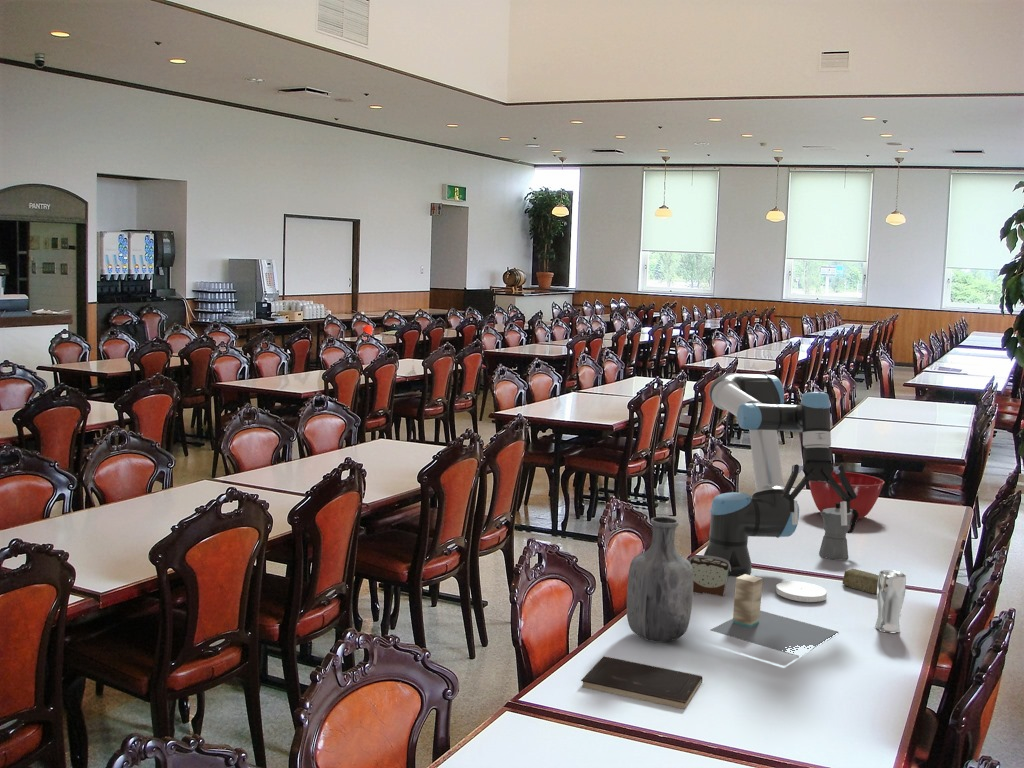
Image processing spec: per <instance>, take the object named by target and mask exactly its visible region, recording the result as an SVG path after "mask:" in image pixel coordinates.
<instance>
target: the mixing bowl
mask: <svg viewBox="0 0 1024 768" xmlns="http://www.w3.org/2000/svg"><path fill="white" fill-rule="evenodd" d="M844 473H845V475H846V477H847V479H848V481H849V483H850V485H851V486H852V488H853V490H854V492H855V494H856V496H857V498H856V499H853V500H851V501H850V509H856V511H857V512H858V514H859V516H858V519H857V521H859V520H861V519H862V518H864V517H866V516H867V515H868V514H869V513H870V512H871V510H872V509H873V507H874V506H875V504H876V502H877V501H878V499H879V496H880V494H881V492H882V489H883V486H884V484H885V481H884V480H883V479H881V478H880V477H876V476H874V475H873V476H871V475H869V474H868V475H867V474H863V473H856V472H850V471H844ZM831 476H832V477H833V478H834V479H835V481H836V482H837V483H838V485H839V486H840V487H841V488H842V489H843V490H844V492H845V493H846V491H845V489H844V487H843V485H842V483H841V481H840V479H839V477H838V475H837V474H836V473H835V471H833V472H832V474H831ZM808 485H809V490H810V493H811V496H812V499H813V502H814V504H815V507H816V508H817V510H818V511H819V512H820V513H822V510H824V509H827V508H836V504H835V503H840V502H843V500H842V499H841V497H840V496H839V495H838V494H837V493H836V492H835V490H834V489H833V488H832V487H831V486H830V485H829V484H828V483H827V482H826V481H824V482H819V481H815V482H812V481H809V482H808ZM846 494H847V493H846ZM847 495H848V494H847ZM840 509H841V507H840ZM853 516H854V515H853V514H852V517H851V521H852V520H853Z"/></svg>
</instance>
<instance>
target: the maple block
mask: <svg viewBox="0 0 1024 768" xmlns="http://www.w3.org/2000/svg"><path fill="white" fill-rule="evenodd" d="M734 587H735V588H734V601H733V602H734V603H733V612H732V613H733V615H732V616H733V617H732V619H733V623H736V624H740V625H743V626H747V627H752V626H754V625H756V624H758V623H759V618H760V611H761V603H762V592H763V590H762V589H763V578H762V577H759V576H755V575H750V574H744V575H738V576H737V577H735V586H734Z"/></svg>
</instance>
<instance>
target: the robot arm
mask: <svg viewBox="0 0 1024 768" xmlns="http://www.w3.org/2000/svg"><path fill="white" fill-rule="evenodd" d="M708 389H709V390H708V397H709V400H710V402H711V403H712V405H714V406H715V407H716V408H718V409H720V410H722V411H727V412H729V413H730V414H732V415H734V417H736V421H737V424H738V426H739V428H740V429H743V430H749V440H750V441H749V443H750V450H751V459H752V465H753V466H752V467H753V475H754V483H755V484H754V485H755V490H754V491H753V493H752V494H748V493H746V492H736V491H735V492H733V491H732V492H725V493H720V494H717V495H716V496H715V497H713V499H712V501H711V507H710V510H709V511H710V520H709V521H710V522H709V534H708V535H709V537H708V543H707V546H706V548H705V551H704V554H703V555H706V556H715V557H720V558H723V559H726V560H727V561H729V563H730V566H731V572H730V569H729V571H728V576H734V577H736V576H737V577H739V576H742V575H744V574H747V575H750V573H751V572H752V568H753V567H752V566H753V565H752V561H751V555H750V552H749V551H750V550H749V547H748V542H749V541H748V540H749V537H752V538H753V537H762V538H763V537H764V538H765V537H766V538H777V539H779V538H786V537H787V538H788V537H791V536H792V535H794V533H795V532H796V530H797V527H798V525H799V519H800V506H799V503H798V500H797V499H796V498H797V497H798V495H799V494H800V493H801V491H803V489H804V488H805V487H806V485H808V484H809V481H812V482H815V481H819V482H824V481H826V482H827V483H828V484H829V485H830V486H831V487H832V488H833V489H834V490H835V492H836V493H837V494H838V495H839V496H840V497H841V499H842V500H843V502H840V507H841V526H846V525H847V513H850V501H851V500H853V499H856V498H857V496H856V494H855V492H854V490H853V488H852V486H851V485H850V483H849V481H848V479H847V477H846V475H845V473H844V472H845V467H844V466H843V464H841V465H838V466H833V463H832V462H833V461H832V460H833V459H832V449H831V448H830V447H831V446H832V438H831V437H832V436H831V404H830V396H829V394H828V393H826V392H822V391H811V392H805V393H803V394H802V395H801V401H800V404H785V399H784V398H785V390H784V386H783V383H782V382H781V380H780V378H779V377H777V376H776V375H773V374H766V373H739V372H738V373H737V372H729V373H725V374H722V375H719V377H717V378H716V379H714V380H713V381H712V383H711V384H710V386H709V388H708ZM778 431H784V432H785V431H787V432H788V431H789V432H791V433H796V434H797V433H798V434H799V433H801V434H802V446H803V448H804V449H803V450H802V451H803V452H802V453H803V454H802V456H803V457H802V459H803V464H802V465H799V464H793V465H792V466H791V473H790V476H789V477H788V479H787V481H786V484H785V486H784V478H783V477H784V476H783V471H782V462H781V454H780V447H779V438H778ZM801 471H802V472H803V473H804V476H803V477H802V479H801V481H800V482H799V483H798V484H797V485H796V487H795V488H794V489H793V486H794V484H795V482H796V480H797V478H798V475H799V474H800V473H801ZM833 471H835V473H836V474H837V475H838V477H839V479H840V481H841V483H842V485H843V487H844V489H845V491H846V493H847V494H848V495H847V494H846V493H845V492H844V490H843V489H842V488H841V487H840V486H839V485H838V483H837V482H836V481H835V479H834V478H833V477H832V476H831V474H832V472H833ZM792 489H793V490H792ZM791 490H792V491H791Z"/></svg>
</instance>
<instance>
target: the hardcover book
mask: <svg viewBox="0 0 1024 768" xmlns="http://www.w3.org/2000/svg"><path fill="white" fill-rule="evenodd" d="M580 682H582V688H585V689H590V690H595V691H600V692H604V693H609V694H614V695H618V696H623V697H628V698H632V699H636V700H642V701H645V702H650V703H653V704H654V703H655V704H659V705H663V706H664V705H665V706H669V707H675V708H678V709H683V710H684V709H685V708H686V707H687V706H688V705H689V702H690V701H691V699H692V698H693V696H694V694H695V693H696V692H697V690H698V688H699V687H700V685H701V684H702V683H703V675H700V674H699V675H698V674H694V673H689V672H684V671H679V670H673V669H669V668H664V667H659V666H656V665H655V666H654V665H649V664H645V663H641V662H640V663H639V662H634V661H629V660H625V659H619V658H614V657H610V656H605V655H603V656H602V658H600V659H599V661H597V662H596V664H595V665H593V667H592V668H591V669H590V670H589V671H588V672H587V673H586V675H584V677H583V678H582V679H580Z"/></svg>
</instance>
